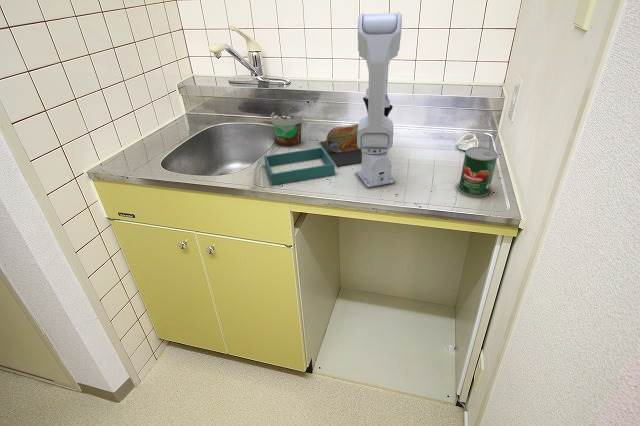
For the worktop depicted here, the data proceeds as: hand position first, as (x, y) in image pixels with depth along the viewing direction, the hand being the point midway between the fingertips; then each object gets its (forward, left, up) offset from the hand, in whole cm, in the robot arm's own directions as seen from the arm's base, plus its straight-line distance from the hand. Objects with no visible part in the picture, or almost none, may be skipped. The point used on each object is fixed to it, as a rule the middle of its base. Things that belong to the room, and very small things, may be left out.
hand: (376, 122), depth 123 cm
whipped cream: (-10, -29, -10) cm, 32 cm away
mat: (+2, +8, -9) cm, 13 cm away
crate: (-6, +28, -9) cm, 30 cm away
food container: (+16, +28, -10) cm, 34 cm away
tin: (+2, +9, -9) cm, 13 cm away
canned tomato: (-34, -15, -10) cm, 38 cm away
